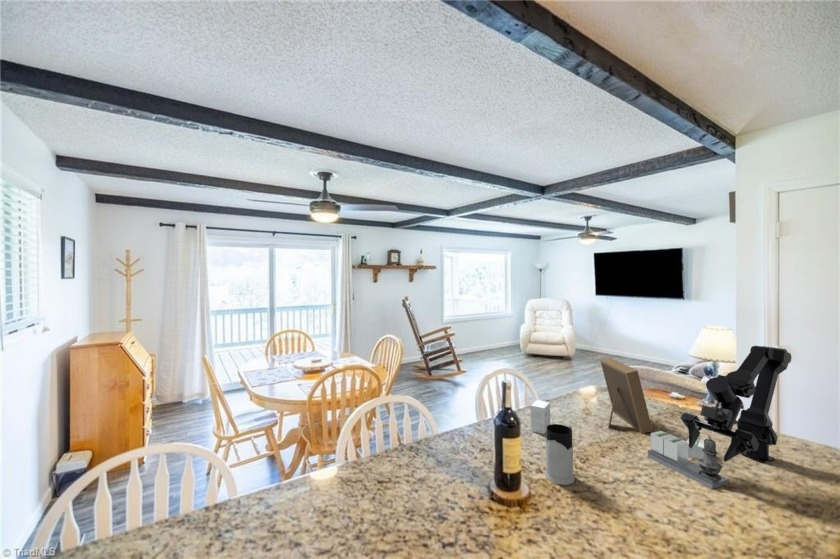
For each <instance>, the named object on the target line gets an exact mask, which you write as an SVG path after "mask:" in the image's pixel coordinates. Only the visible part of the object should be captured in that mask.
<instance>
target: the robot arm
mask: <svg viewBox="0 0 840 559" xmlns="http://www.w3.org/2000/svg"><path fill="white" fill-rule="evenodd" d="M791 362H792V354H791V352H788V350H787V349H786V348H779V347H772V346H765V345H763V346H762V345H752V346H751V348H750V351H749V353H748V354H747V356H746V357H745V359H744V360H743V361H742V363H741V365H739V367H738V368H737V369H736V370H734V371H731V372H728V373H727V374H726V375H722V374H718V375H717V376H716V377H712V378H710V379H709V380H707V381H706V384H705V386H706V389H707V390H708V392H709V393H710V395H711V396H712V398H713V399H714V400H715V401H716V403H715V405H714V406H711V407H710V406H708V405H704V404H703V405H701V406H702V407H701V409H700V413H699V414H700V416H702V417H704V420H705V421H706V422H705V421H701V420H700V418H699V417H698V415H695V414H692V413H689V412H683V413H682V414H681V415H680V420H681V422H682V423H683V424H684V426H685V427H686V428H687V429H688V437H689V447H690V448H692V447H693V446H694V444H695V442H696V441H697V439H698V438H699V437H700V435H701V432H700V431H702V429H704V430H707V431H710V432H713V433H716V434H720V435H721V436H725V437H728V438H731V440H730V443H729V446H728V447H727V450H726V452H725V453H724V456H723V461H724V462H729V461H730V460H731V459H733V458H734V457H736V456H739V455H742V456H745V457H747V458H750V459H752V460H755V461H757V462H760V463H763V464H766V463H768V462H770V461H771V462H772V461H774V460H775V457H774V456H770V446H777V441H778V435H777V432H775V430H774V428H773V421H772V420H771V417H770V416H769V412H770V409H771V408H770V407H771V404H772V400H773V396H774V393H775V388H776V385H777V381H778V377H779V375H780V374H781V373H783V372H784V371H786V370H788V369H787V368H788V365H789V364H790V363H791ZM756 378H757V380H755V379H756ZM755 381H756V383H755ZM741 398H745V399H746V398H747V399H750V398H752V399H751V401H750V404H749V405H750V406H749V407H748V408H747V409H745V406H744V402H743V401H742V399H741ZM741 409H742V410H741ZM739 413H740V415H739ZM738 416H739V418H738ZM734 425H736V427H737V428H736V429H735V430H734V431H733V430H732V429H733V428H734Z"/></svg>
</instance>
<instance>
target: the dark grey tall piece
mask: <svg viewBox="0 0 840 559" xmlns="http://www.w3.org/2000/svg"><path fill="white" fill-rule="evenodd" d="M703 440H704V449H702V451H703V452H704V457H703V459H697V463H698V465H699V466H700V468H701V469H702V470H701V471H699V474H702V475H704V476H706V477H708V478H710V479H712V480H720V479H721V477H720V476H719V475H720V472H721V471H722V468H723V465H722V464H720V463H719V462H718V461H717V455H718V452H717V445H716V444H717V443H716V441H715V440H714V439H712V437H711V436H708V438H705V439H703ZM718 474H719V475H718Z"/></svg>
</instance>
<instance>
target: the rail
mask: <svg viewBox="0 0 840 559" xmlns="http://www.w3.org/2000/svg"><path fill="white" fill-rule="evenodd" d="M647 457H648V458H649V459H651V460H653V461H655V462H657V463H659V464H660V465H663V466H665V467H667V468H669V469H672V470H673V471H675V472H678V473H679V474H681V475H683V476H685V477H687V478H689V479H691V480H692V481H696V482H698V483H700V484H701V485H703V486H706V487H707V486H708V487H707V488H710V489H711V488H712V489H711V490H713V489H716V488H719V487H722V486H725V485H727V484H730V478H729V477H726V476H724V475H722V474H720V473H718V475H719V476H720V477H721V479H720V480H712V479H710V478H708V477H706V476H704V475H702V474H699V471H701V470H702V469H701V468H700V466H699V464H697V463H695V462H693V461H691V460H689V457H688V442H687V440H684V439H682V438H681V437H677V436H674V435H672V434H669V433H668V432H666V431H665V432H664V431H662V430H659V431H655V432H651V433H650V449H647Z"/></svg>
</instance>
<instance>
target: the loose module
mask: <svg viewBox="0 0 840 559" xmlns="http://www.w3.org/2000/svg"><path fill="white" fill-rule="evenodd" d="M704 440H705V439H700V438H699V437H698V439H697V441H696V442H695V444H694V446H693V447H692V448H690V447H689V436H688V438H687V440H686V441H687V442H688V458H692V459H695V460H699V459H703V457H704V452H703V451H702V449H704Z"/></svg>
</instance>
